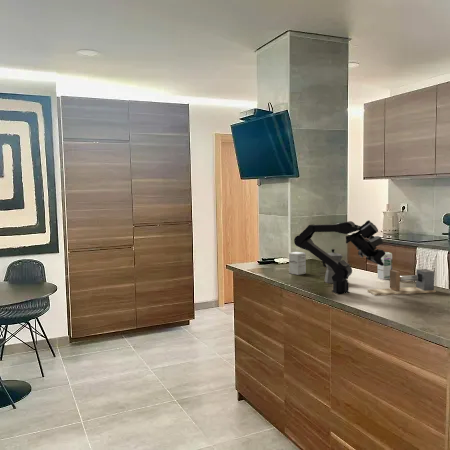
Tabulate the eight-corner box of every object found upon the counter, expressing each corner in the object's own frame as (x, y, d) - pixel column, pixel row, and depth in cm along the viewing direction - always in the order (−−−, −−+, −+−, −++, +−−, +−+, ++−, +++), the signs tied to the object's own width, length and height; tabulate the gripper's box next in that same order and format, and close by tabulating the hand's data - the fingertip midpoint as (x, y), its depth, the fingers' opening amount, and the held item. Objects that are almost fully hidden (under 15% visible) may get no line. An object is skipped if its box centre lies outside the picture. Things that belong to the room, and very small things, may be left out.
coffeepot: (348, 282, 240) (348, 249, 239) (336, 285, 235) (336, 251, 233) (327, 278, 253) (327, 246, 251) (315, 280, 248) (315, 248, 246)
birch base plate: (374, 295, 211) (374, 293, 211) (367, 291, 219) (367, 289, 219) (435, 292, 214) (435, 290, 214) (426, 288, 222) (426, 286, 222)
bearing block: (424, 290, 214) (424, 272, 213) (416, 287, 221) (416, 269, 220) (433, 290, 215) (434, 271, 214) (425, 286, 221) (425, 269, 221)
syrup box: (383, 279, 245) (383, 253, 244) (377, 277, 251) (377, 252, 250) (392, 278, 247) (392, 252, 246) (386, 276, 252) (386, 251, 251)
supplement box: (288, 273, 269) (288, 252, 268) (297, 271, 274) (297, 251, 273) (297, 275, 263) (297, 254, 262) (306, 273, 268) (306, 252, 267)
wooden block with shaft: (395, 290, 213) (396, 272, 212) (389, 287, 219) (389, 269, 218) (419, 289, 214) (419, 271, 213) (412, 286, 220) (413, 268, 219)
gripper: (381, 232, 203) (404, 255, 205) (364, 229, 222) (385, 250, 224) (364, 250, 203) (387, 273, 205) (348, 245, 221) (370, 266, 223)
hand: (382, 265), depth 214 cm, fingers closed
